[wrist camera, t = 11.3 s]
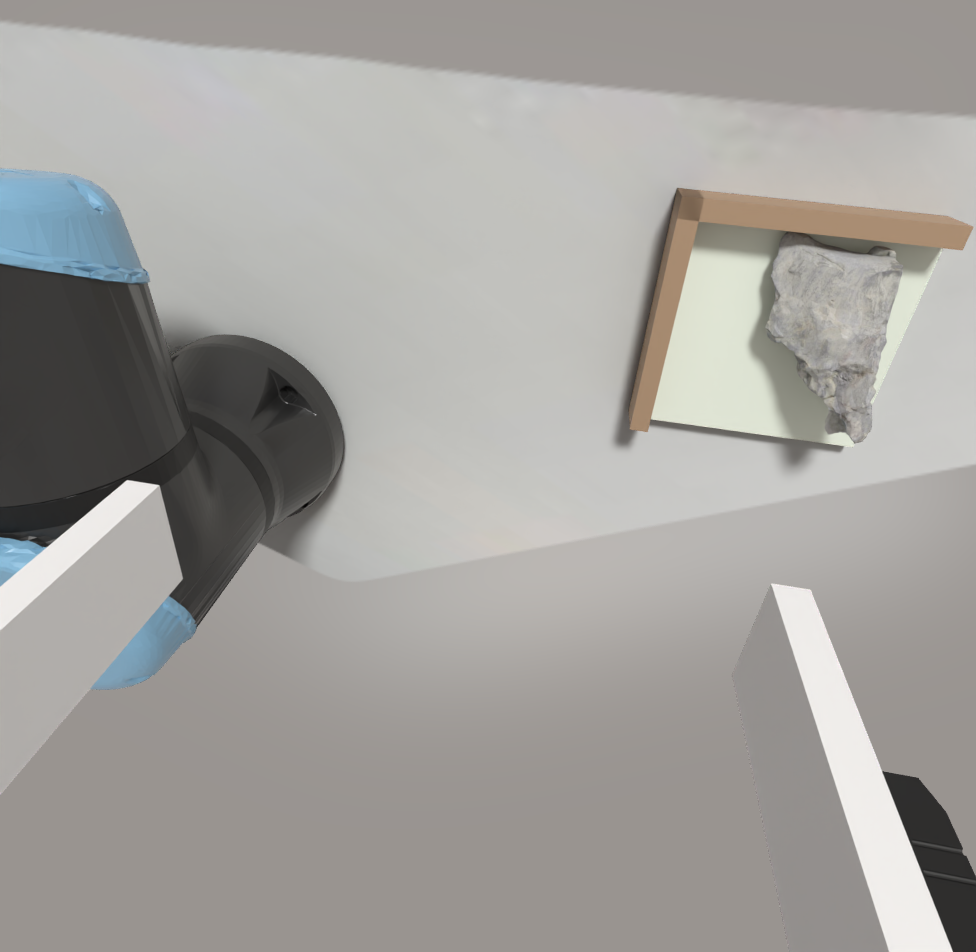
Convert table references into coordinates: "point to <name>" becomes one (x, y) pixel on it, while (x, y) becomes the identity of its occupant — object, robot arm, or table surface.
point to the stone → (834, 322)
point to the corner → (759, 309)
